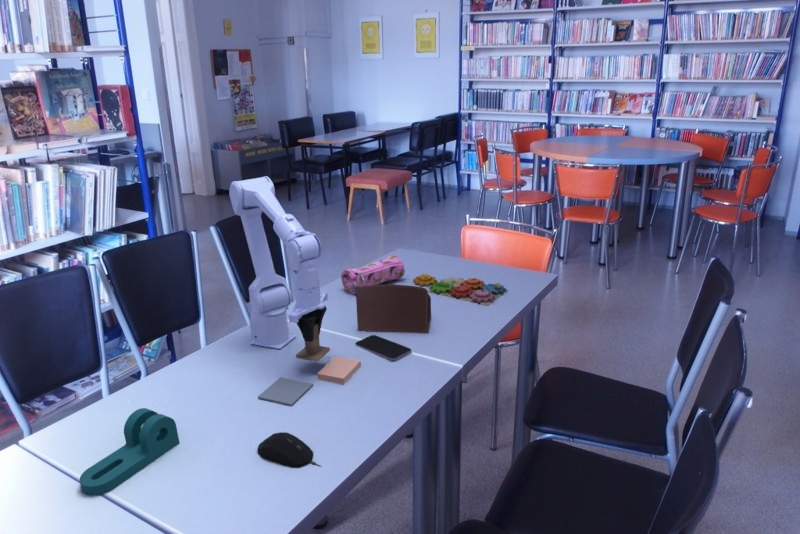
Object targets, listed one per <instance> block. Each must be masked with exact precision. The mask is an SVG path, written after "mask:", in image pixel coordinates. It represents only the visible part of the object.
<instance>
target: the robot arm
mask: <svg viewBox="0 0 800 534" xmlns="http://www.w3.org/2000/svg"><path fill="white" fill-rule="evenodd" d="M275 191H276V190H275V185H274V183H273V180H271V178H270V177H269V176H267V175H265V176H261V177H256V178H255V177H254V178H249V179H244V180H237V181H236V180H234V181H232V182H231V183H230V186H229V191H228V192H229V199H230V203H231V207H232V209H233V211H234V215H236V216H239V217H240V219H241V222H242V226H243V231H244V234H245V238H246V242H247V246H248V250H249V253H250V257H251V261H252V265H253V268H254V269H253V270H254V273H255V279H254V280H253V281H252V283H250V285H249V287H248V294H249V303H250V307H251V309H252V312H251V315H250V319H249V323H250V324H249V325H250V330H251V338H252V341H250V344H251V345H256V346H261V347H265V348H271V349H276V350H281V349H282V348H284V347H285V346H286V345H287V344H288V343H291V341H292V340H294V339H296V337H297V336H296V334H291V333H289V323H293V324H296V325H297V327H298V329H299V330H300V333H301V335H302V338H303V340H304V342H305V341H309V342H312V341H313V338H314V323H316V324H318V331H319V335H320V334H321V328H322V323H323V319H324V315H326V312H327V306H326V303H324V302H326V301H327V300H329V296H328V292H326V291H321V289H320V275H319V266H318V262H319V261H318V258H320V257H321V255H322V252H323V251H322V244H321V241H320V239H319V238H318V236H317V235H316V234H315V232H310V231H307V230H305V229H304V227H303V226H302V224H301V223H300V222H299V221H298V220H297V218H296V217H295V216H294V215H293V214H291V213H286V211H285V210H284V209H283V207H282V205H281V203H280V202H279V200H278V198H277V197H276V192H275ZM262 213H264V214H265V215H266V216H267V217H268V218H269V219H270V220H271V221H272V223H273V226H272V228H273V230H274V232H275V234H276V235H277V236H278V238H279V240H281V242H282V243H283V244H284V246H286V248H285V252H286V255H287V257H288V260H289V266H290V269H292V271H293V272H292V274H293V282H294V291H295V292H294V294H295V304H294V306H293V308H292V310H291V312H290V313H288V314H287V311H288V310H289V309H290V308H289V306H290V305H291V304H292V301H293V294H292V291H291V288H290V287H289V285H288V283H287V279H286V278H285V277H283V276H281V275H279V274H277V273H276V270H275V267H274V263H273V258H272V255H271V251H270V247H269V243H268V239H267V235H266V232H265V228H264V223H263V220H262ZM288 322H289V323H288Z"/></svg>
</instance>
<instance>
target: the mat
mask: <svg viewBox="0 0 800 534" xmlns="http://www.w3.org/2000/svg"><path fill="white" fill-rule="evenodd" d="M312 387H314V383H309V382H305V381H300V380H295V379H291V378H285V377H281V376H280V377H279V378H278V379H276V380H275V381H274V382H273V383H272V384H271V385H269V386H268V387H267V388H266V389H264V391H263V392H261V393H260V394H259V395H257V399H258V400H262V401H267V402H271V403H276V404H281V405H284V406H289V407H293V406H294V405H295V404H296V403H297V402H298V401H300V399H301V398H302V397H303V396H304V395H306V393H307V392H308V391H309V390H310V389H312Z"/></svg>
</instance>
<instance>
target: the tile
mask: <svg viewBox="0 0 800 534" xmlns="http://www.w3.org/2000/svg"><path fill="white" fill-rule="evenodd" d="M361 367H362V361H361V360H359V359H353V358H347V357H342V356H336V355H335V356H334V357H333V358H331V360H330V361H329V362H328V363H327V364H326V365H325V366H324V367H322V368H321V370H319V371H318V372H317V373H316V376H317V380H319V379H320V381H325V382H330V383H335V384H339V385H340V384H341V385H345V384H346V383H347V382H348V381H349V380H350V379H351V377H353V376H354V374H355V373H356V372H357V371H358V370H359V369H360V368H361Z"/></svg>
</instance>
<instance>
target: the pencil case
mask: <svg viewBox="0 0 800 534" xmlns="http://www.w3.org/2000/svg"><path fill="white" fill-rule="evenodd" d="M403 261H404V260H403V259H400V257H399V256H398V255H396V254H392V255H390V256H386V257H385V258H384V259H381V260H379V261H374V262H372V263H369V264H367V265H364V266H362V267H360V268H345V269H343V271H342V272H341V275H340V278H341V284H342V286H343V288H344V289H345V291H347V292H348V294H350V295H356V289H357V288H358V287H362V286H370V285H381V284H383V283H386V282H391V281H395V280H399V279H401V278H403V277H404V275H405V273H406V271H405V267H404V266H405V263H404V262H403Z"/></svg>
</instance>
